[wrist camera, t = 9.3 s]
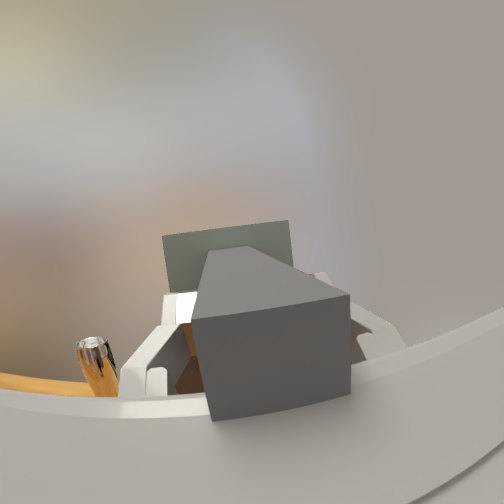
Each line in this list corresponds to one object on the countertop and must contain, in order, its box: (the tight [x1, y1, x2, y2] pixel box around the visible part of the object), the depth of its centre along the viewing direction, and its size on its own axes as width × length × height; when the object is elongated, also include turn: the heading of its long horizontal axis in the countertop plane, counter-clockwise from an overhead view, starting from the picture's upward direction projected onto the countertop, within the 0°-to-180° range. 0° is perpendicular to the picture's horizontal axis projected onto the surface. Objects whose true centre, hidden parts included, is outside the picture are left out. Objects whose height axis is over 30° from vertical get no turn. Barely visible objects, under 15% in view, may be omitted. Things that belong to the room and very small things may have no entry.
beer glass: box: [76, 336, 119, 397], centre depth 48 cm, size 7×7×15 cm
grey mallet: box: [162, 220, 351, 422], centre depth 18 cm, size 26×10×5 cm, turn 7°
